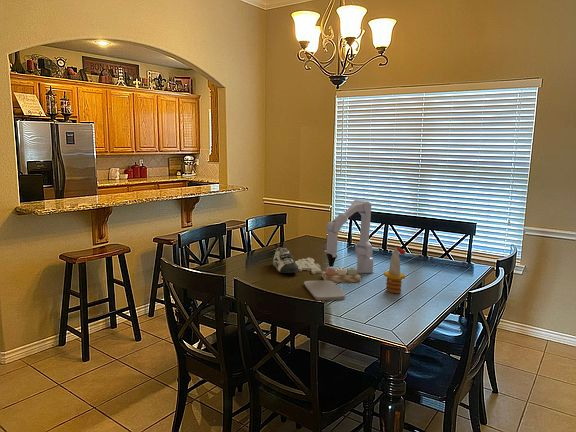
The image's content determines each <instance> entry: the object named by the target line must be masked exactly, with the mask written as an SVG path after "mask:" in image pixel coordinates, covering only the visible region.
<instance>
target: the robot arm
mask: <svg viewBox="0 0 576 432" xmlns="http://www.w3.org/2000/svg"><path fill="white" fill-rule="evenodd" d="M350 204H351V205H350V206H349V207H348V208H347V209H346V210H345V212H343V213H339V214H337V216H336V217H335V218H334V219H332V220H331V221H329V222H327V223H326V225H325V230H326V234H327V237H326V238H327V239H326V241H327V243H326V249H325V250H324V252H325V255H326V257H327V261H328V268H334V264H335V262H336V259H337V258H338V255H337V254H338V240H339V239H338V238H339V237H338V235H339V233H340V232H341V228H342V227H343V226H344V225H345V224H346V223H347V222H348V219H349V218H350V217H351V216H353V215H354V214H356V213H357V212H358V213H359V214H360V216H361V218H360V231H359V241H357V243H355V247H354V254H355V255H356V257H357V258H356V268H355V269H356V272H357V273H358V274H373V273H374V271H373V270H374V257H372V256H373V250H374V249H373V245H372V244H371V243H370V231H371V230H370V229H371V219H372V217H371V215H372V204H371V203H370V201H364V200H360V199H354V200H353V201H352V202H351V203H350Z"/></svg>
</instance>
